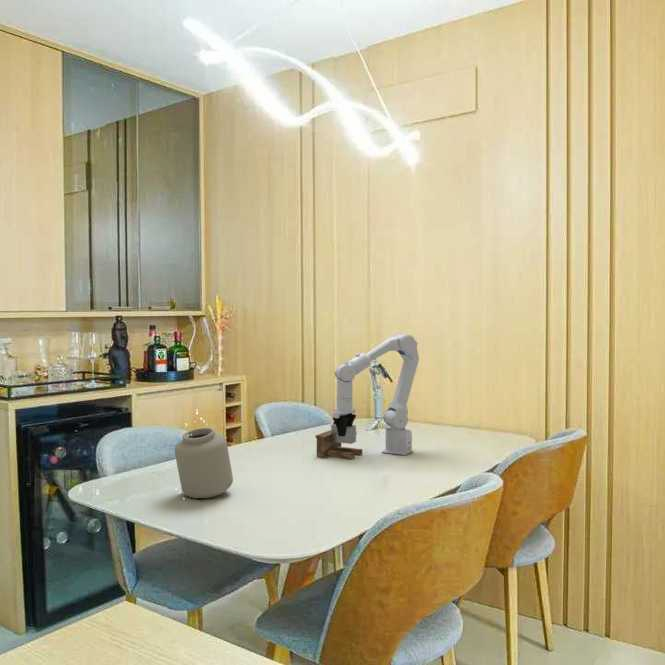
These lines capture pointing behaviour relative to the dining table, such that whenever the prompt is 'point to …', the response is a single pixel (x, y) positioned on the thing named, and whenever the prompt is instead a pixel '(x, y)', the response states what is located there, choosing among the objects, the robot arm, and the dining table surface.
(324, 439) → the brown panel with bars
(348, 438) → the grey rectangular block
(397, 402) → the robot arm
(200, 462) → the jar
